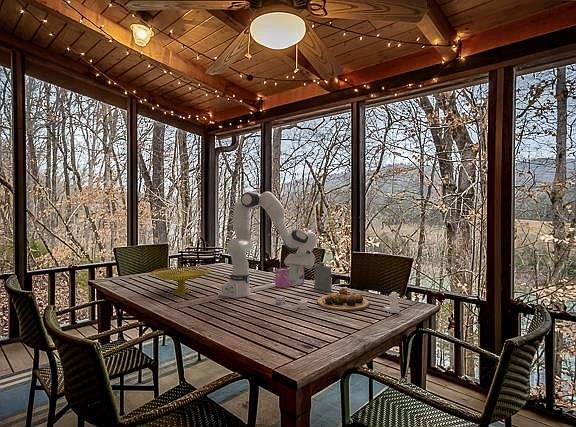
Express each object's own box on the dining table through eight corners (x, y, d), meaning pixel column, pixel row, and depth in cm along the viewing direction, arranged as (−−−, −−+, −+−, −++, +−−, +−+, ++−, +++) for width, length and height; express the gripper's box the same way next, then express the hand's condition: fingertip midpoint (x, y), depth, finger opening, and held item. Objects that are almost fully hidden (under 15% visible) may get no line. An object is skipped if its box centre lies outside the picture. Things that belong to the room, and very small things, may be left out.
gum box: (299, 282, 283) (299, 265, 283) (305, 284, 277) (305, 266, 277) (274, 286, 269) (275, 268, 269) (280, 288, 263) (281, 269, 263)
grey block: (275, 303, 221) (275, 297, 221) (279, 302, 224) (279, 295, 224) (281, 304, 218) (281, 298, 218) (284, 303, 222) (284, 296, 222)
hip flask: (332, 291, 254) (332, 263, 254) (328, 291, 252) (328, 263, 251) (316, 287, 266) (316, 260, 266) (312, 287, 264) (312, 261, 263)
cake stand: (189, 302, 222) (189, 278, 222) (137, 296, 235) (137, 274, 235) (221, 288, 260) (221, 268, 260) (174, 284, 273) (174, 264, 273)
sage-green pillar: (289, 279, 218) (289, 265, 218) (293, 278, 221) (293, 265, 221) (295, 280, 215) (295, 266, 215) (299, 279, 219) (299, 265, 218)
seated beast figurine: (398, 309, 208) (398, 289, 208) (405, 314, 200) (405, 293, 200) (382, 310, 207) (383, 290, 207) (389, 314, 198) (389, 293, 198)
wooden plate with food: (327, 295, 242) (326, 283, 242) (373, 300, 228) (373, 288, 228) (309, 308, 213) (309, 295, 213) (362, 315, 199) (362, 300, 199)
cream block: (298, 308, 211) (298, 301, 210) (301, 306, 214) (301, 300, 214) (303, 309, 208) (303, 302, 208) (307, 307, 211) (307, 301, 211)
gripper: (287, 249, 230) (278, 266, 222) (314, 252, 217) (305, 270, 210) (291, 256, 233) (282, 272, 226) (318, 258, 221) (309, 276, 213)
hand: (293, 271), depth 218 cm, fingers closed on sage-green pillar, 4 cm apart
